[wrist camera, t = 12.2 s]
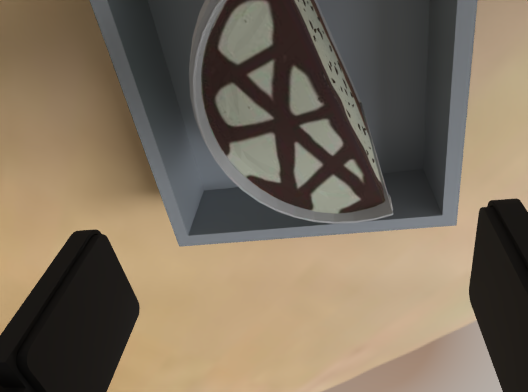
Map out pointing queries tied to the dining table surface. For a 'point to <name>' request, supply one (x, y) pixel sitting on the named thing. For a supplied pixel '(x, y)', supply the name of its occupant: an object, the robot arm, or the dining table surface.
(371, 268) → the dining table surface
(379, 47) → the crate
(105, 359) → the robot arm
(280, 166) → the food container
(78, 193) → the dining table surface
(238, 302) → the dining table surface
